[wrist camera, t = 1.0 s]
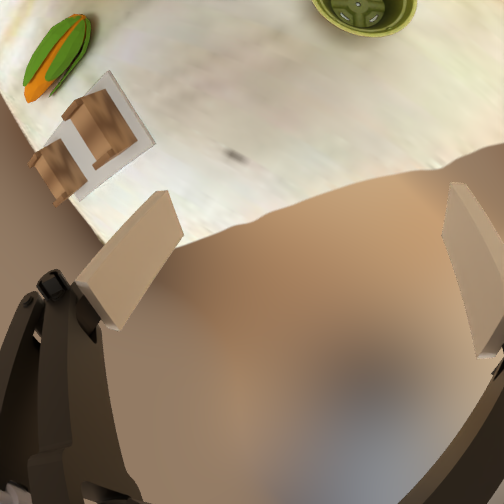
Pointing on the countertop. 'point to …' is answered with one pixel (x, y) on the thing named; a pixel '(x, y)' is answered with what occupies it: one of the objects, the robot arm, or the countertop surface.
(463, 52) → the countertop surface
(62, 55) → the corn
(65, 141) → the mat
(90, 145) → the wooden brackets on board
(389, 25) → the plant pot
